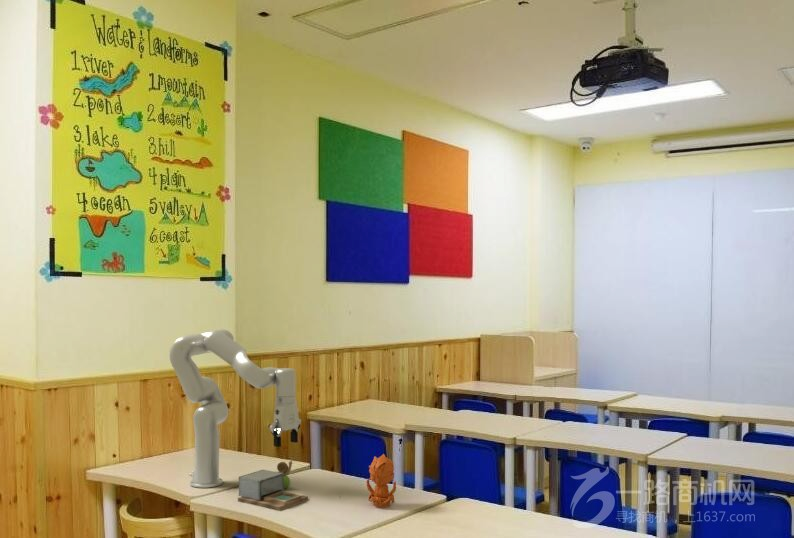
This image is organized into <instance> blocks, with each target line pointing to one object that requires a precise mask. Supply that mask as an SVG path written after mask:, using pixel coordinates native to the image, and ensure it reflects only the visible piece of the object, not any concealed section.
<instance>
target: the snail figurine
mask: <svg viewBox="0 0 794 538" xmlns="http://www.w3.org/2000/svg"><path fill="white" fill-rule="evenodd" d="M292 465H293V458H290V461H288V464H287V463H286V462H284V461H280V462H279V463H277V465H276V469H277V472H279V473H284V490H285V489H287V488H288V487H289V486H290V484H291V479H290V477H289V476H288V475H289V474H290V472H291V469H292Z"/></svg>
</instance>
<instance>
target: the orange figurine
mask: <svg viewBox="0 0 794 538" xmlns="http://www.w3.org/2000/svg"><path fill="white" fill-rule="evenodd" d="M368 468H369V470H368V472H369V474H370V475H369V476H370V477H369V478H367V479H366V489H367V491H368V492H369V495H368V498H367V499H368V502H371V504H373V507H375V508H382V509H383V508H388V507H390V505H391V504H394V503H395V502H396V501H395V492H396V491H397V481H396V480H395V472H394V470H395V467H394V462H393V461H392V459H390V458H388V457H386V454H384V453H383V454H382V455H381V456H379V457H377V456H375V455H374V457H373V460H372V462H371V463H370V465H368ZM393 480H394V481H393ZM370 481H371V482H373V483H374V484H375V486H374V488H372V485H371V484H370ZM392 481H393V486H392V489H391V490H390V491H389V485H388V484H390V483H391V482H392Z"/></svg>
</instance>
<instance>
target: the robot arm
mask: <svg viewBox="0 0 794 538" xmlns="http://www.w3.org/2000/svg"><path fill="white" fill-rule="evenodd" d="M208 353H212V354H214V355H215V356H217V357H219V359H221V360H223V361H224V362H226V363H227V364H229V366H231V367H232V368H233V370H234V372H236V374H237V375H238V376H239V377H240V378H241V379H242V380H244V381H245V382H247V383H248V384H249V385H251V386H252V387H254V388H256V389H260V390H261V389H262V390H263V389H266V388H269V387H274V386H275V405H274V412H273V422H272V423H271V424H270V425H269V430H270V434H272V437H273V447H275V448H281V447H282V437H281V434H282V432H286V431H290V436H289V437H290V443H298V438H299V437H298V433H299V429H300V427H301V424H302V419H301V418H300V417H299V410H298V409H299V408H298V403H297V402H296V371H295V369H294V368H289V367H283V368H279V367H272V366H270V367H269V366H267V367H263V368H261V367H259V366H258V365H257V364H255V363H254V362H253V361H252V360H250V358H249V357H248V355H247V354H248V353H247V349H246V348H245V347H243V346H242V345H241V344H240V343H238V342H236V341H235V339H234V335H233V334H232V332H231V331H229V330H227V329H224V328H222V329H221V328H219V329H215V330H214V329H213V330H211V331H208V332H203V333H195V334H187V335H182V336H180V337H178V338H177V339H175V340H174V341H173V343H172V344H171V347H170V349H169V361H170V364H171V366H172V369H173V371H174V373H175V374H176V376H177V378H178V382H179V384H180V385H181V387H182V390H183V392H184V395H185V397H186V398H187V401H189V402H190V403H192V404H198V403H201V405H200V406H198V407H197V408H196V409H195V411H194V413H193V416H192V422H193V429H194V462H193V463H194V467H193V469H192V470H191V472H189V473H188V476H189V477H192V479H191V480H190V481H189V485H190V486H191V487H193V488H199V489H200V488H202V489H203V488H205V489H206V488H214V487H218V486H220V485H222V484H223V482H224V479H222V478H221V477H220V431H219V427H218V426H219V425H221V424H222V423H224V422H225V421H226V420H227V418H228V417H229V408H228V407H229V406H228V404H227V402H226V400H225V398H224V396H223V393H222V391H221V389H220V387H219V385H218V383H217V382H216V381H215V380H214V379H213V378H212V377H209V376H203V375H202V374H201V372H200V370H199V367H198V365H197V364H196V363H195V362H194V360H193V359H192V357H194V356H198V355H204V354H208Z"/></svg>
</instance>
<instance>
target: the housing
mask: <svg viewBox="0 0 794 538" xmlns="http://www.w3.org/2000/svg"><path fill="white" fill-rule="evenodd" d="M280 491H285V489H284V473H279V471H272V470H268V469H267V470H266V469H260V470H257V471H253V472H250V473H247V474H243V475H240V476H238V497H246V498H250V499H255V500H259V501H260V500H261V498H262V496H263V495H266V494H269V493H272V492H280Z"/></svg>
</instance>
